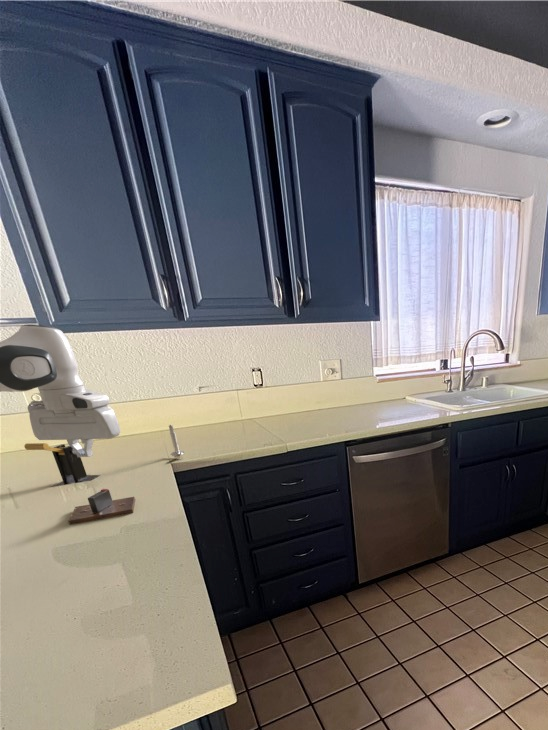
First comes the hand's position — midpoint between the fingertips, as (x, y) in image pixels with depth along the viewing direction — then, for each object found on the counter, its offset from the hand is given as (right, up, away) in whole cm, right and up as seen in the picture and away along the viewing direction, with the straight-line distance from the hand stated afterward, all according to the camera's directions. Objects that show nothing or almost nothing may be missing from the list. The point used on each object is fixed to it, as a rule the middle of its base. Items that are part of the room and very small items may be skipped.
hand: (85, 456), depth 106 cm
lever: (-27, +4, +24) cm, 36 cm away
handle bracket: (-26, -5, +33) cm, 42 cm away
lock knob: (+1, -13, +6) cm, 14 cm away
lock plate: (+1, -15, +7) cm, 17 cm away
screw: (-4, +6, +56) cm, 56 cm away
